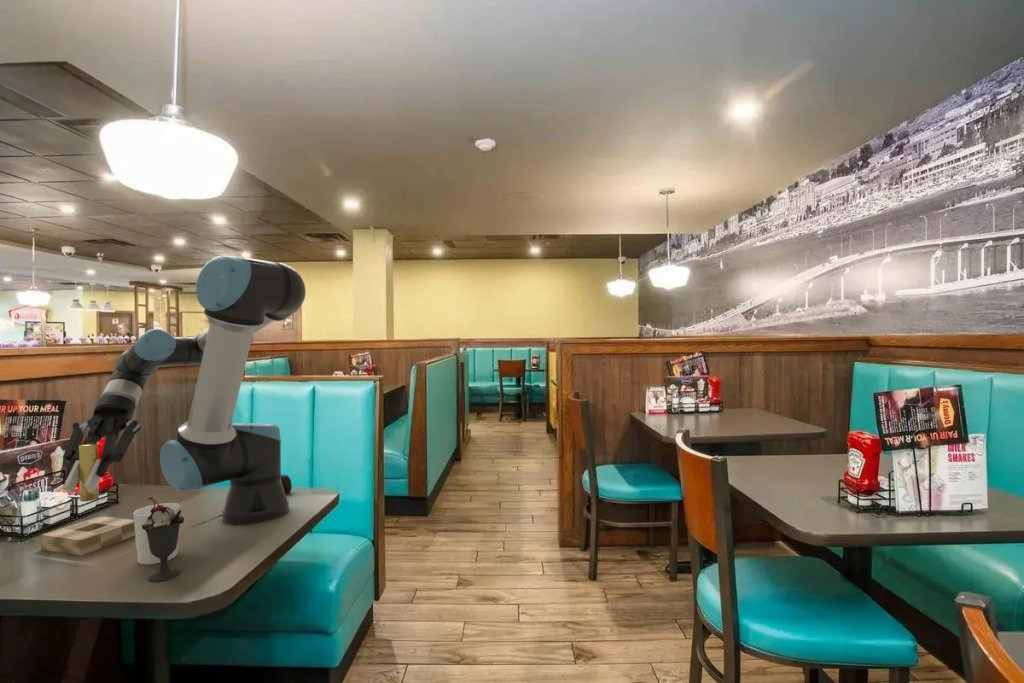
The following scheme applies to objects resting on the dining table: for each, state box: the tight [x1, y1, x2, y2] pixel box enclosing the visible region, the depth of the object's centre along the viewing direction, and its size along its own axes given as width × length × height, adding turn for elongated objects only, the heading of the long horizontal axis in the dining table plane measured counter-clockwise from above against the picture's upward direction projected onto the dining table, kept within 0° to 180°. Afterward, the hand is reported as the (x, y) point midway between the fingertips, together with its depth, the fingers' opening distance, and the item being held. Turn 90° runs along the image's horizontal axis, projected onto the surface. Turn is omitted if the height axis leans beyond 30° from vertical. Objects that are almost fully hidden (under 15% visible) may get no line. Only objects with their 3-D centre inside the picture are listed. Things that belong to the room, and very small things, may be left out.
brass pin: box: [79, 442, 100, 503], centre depth 114 cm, size 3×3×12 cm
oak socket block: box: [40, 516, 135, 556], centre depth 113 cm, size 12×12×4 cm
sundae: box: [141, 496, 185, 583], centre depth 97 cm, size 7×7×15 cm
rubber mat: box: [112, 513, 134, 520], centre depth 127 cm, size 10×8×1 cm
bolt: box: [281, 474, 293, 494], centre depth 145 cm, size 6×5×15 cm
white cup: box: [132, 502, 181, 566], centre depth 105 cm, size 8×8×10 cm
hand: (78, 489), depth 110 cm, fingers closed on brass pin, 3 cm apart
